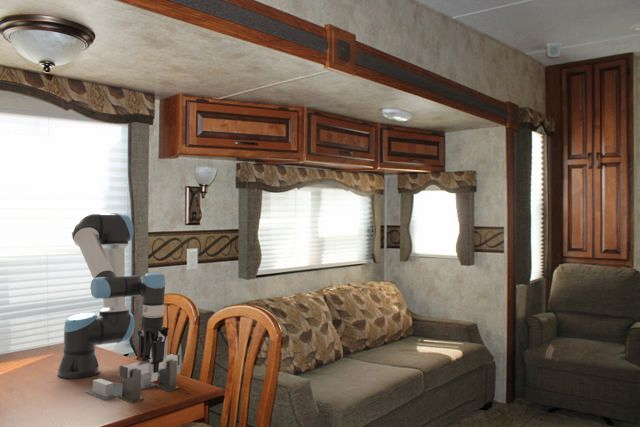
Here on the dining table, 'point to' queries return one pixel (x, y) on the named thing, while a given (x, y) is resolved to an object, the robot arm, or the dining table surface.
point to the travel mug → (164, 332)
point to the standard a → (132, 388)
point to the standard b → (168, 377)
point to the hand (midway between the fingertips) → (150, 379)
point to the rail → (146, 366)
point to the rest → (113, 388)
